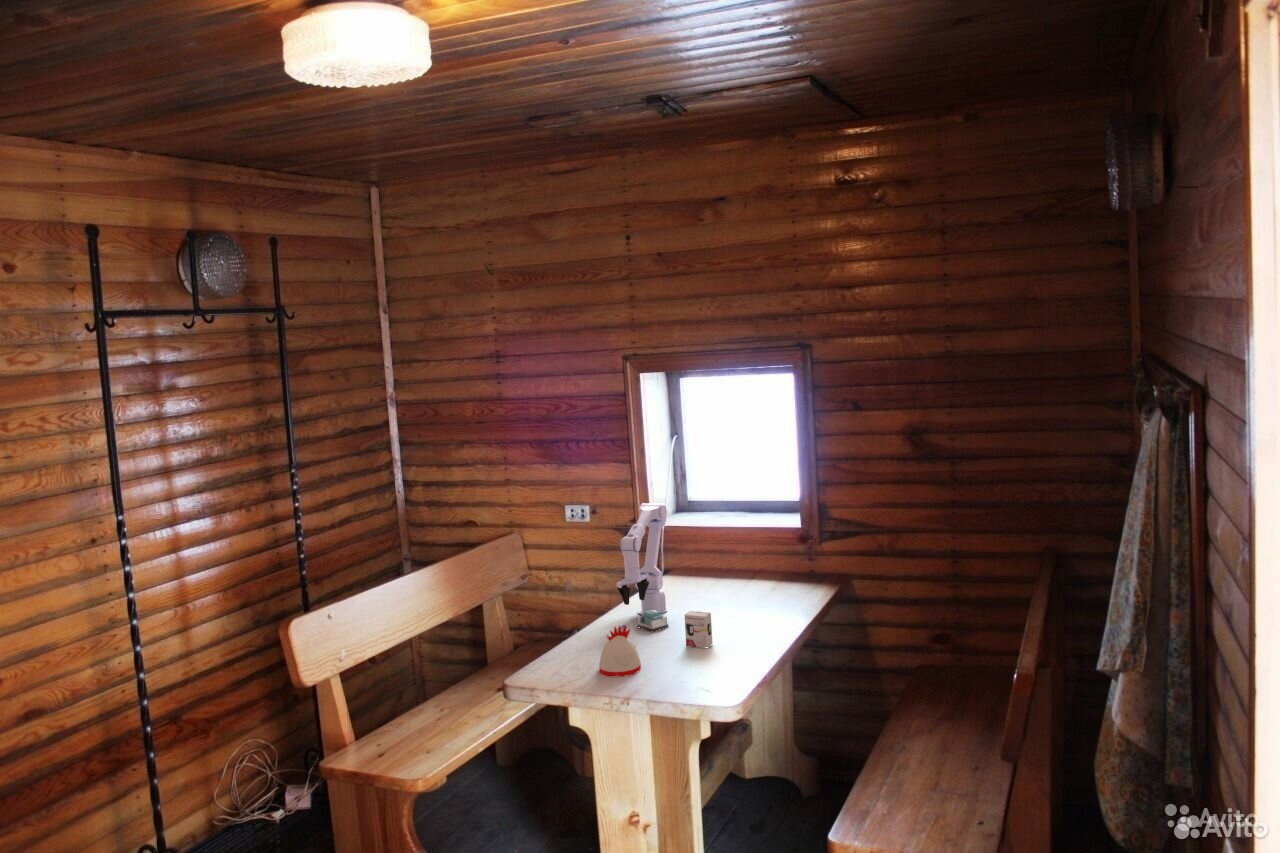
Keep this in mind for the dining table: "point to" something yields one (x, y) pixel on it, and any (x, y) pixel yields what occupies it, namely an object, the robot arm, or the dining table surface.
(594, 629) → the dining table surface
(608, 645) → the chicken hat
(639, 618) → the plate
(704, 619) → the ink box
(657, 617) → the block
